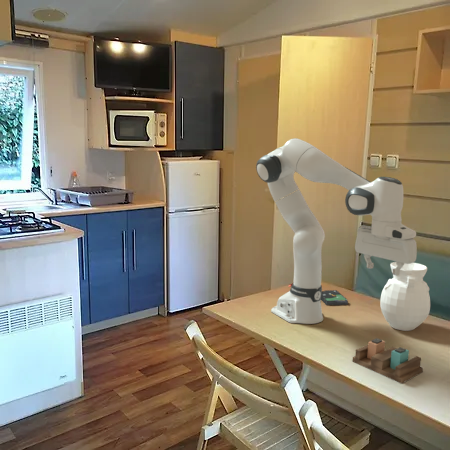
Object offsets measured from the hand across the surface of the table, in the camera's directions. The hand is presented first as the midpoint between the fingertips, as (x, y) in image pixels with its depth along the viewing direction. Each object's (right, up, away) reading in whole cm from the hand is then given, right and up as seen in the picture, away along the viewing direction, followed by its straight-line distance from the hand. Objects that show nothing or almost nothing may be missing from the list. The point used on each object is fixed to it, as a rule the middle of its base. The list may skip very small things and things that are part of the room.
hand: (382, 271), depth 150 cm
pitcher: (+20, -26, +37) cm, 49 cm away
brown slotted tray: (+2, -31, +2) cm, 31 cm away
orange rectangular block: (-1, -29, +5) cm, 30 cm away
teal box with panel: (+5, -30, -1) cm, 31 cm away
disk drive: (-1, -20, +67) cm, 70 cm away
